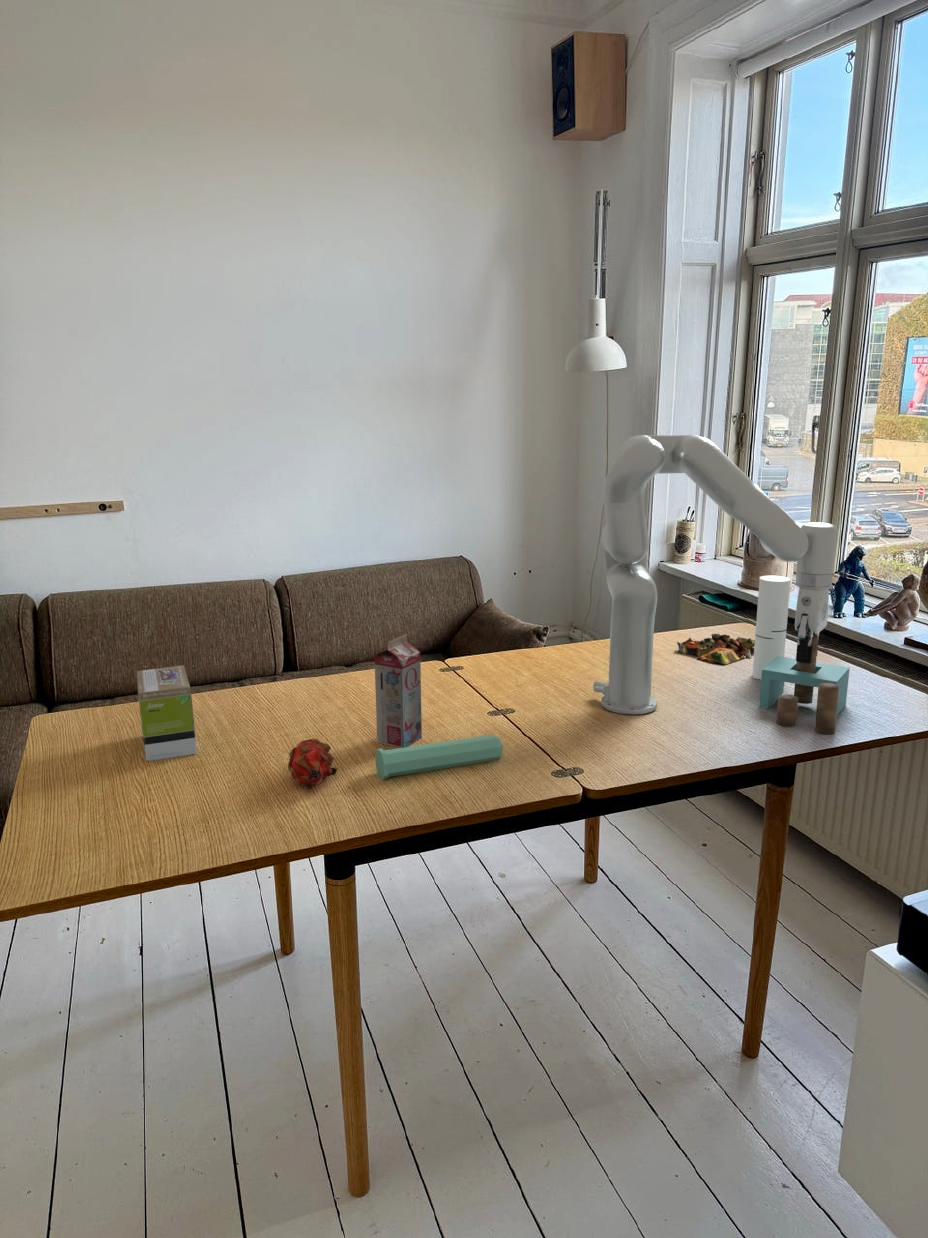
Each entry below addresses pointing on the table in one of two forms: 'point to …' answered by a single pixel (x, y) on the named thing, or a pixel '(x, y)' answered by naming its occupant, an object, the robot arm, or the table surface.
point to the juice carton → (398, 694)
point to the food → (718, 648)
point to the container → (437, 755)
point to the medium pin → (826, 708)
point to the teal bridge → (800, 679)
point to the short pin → (787, 710)
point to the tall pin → (805, 691)
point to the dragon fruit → (311, 762)
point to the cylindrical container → (770, 621)
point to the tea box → (166, 713)
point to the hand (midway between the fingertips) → (806, 658)
